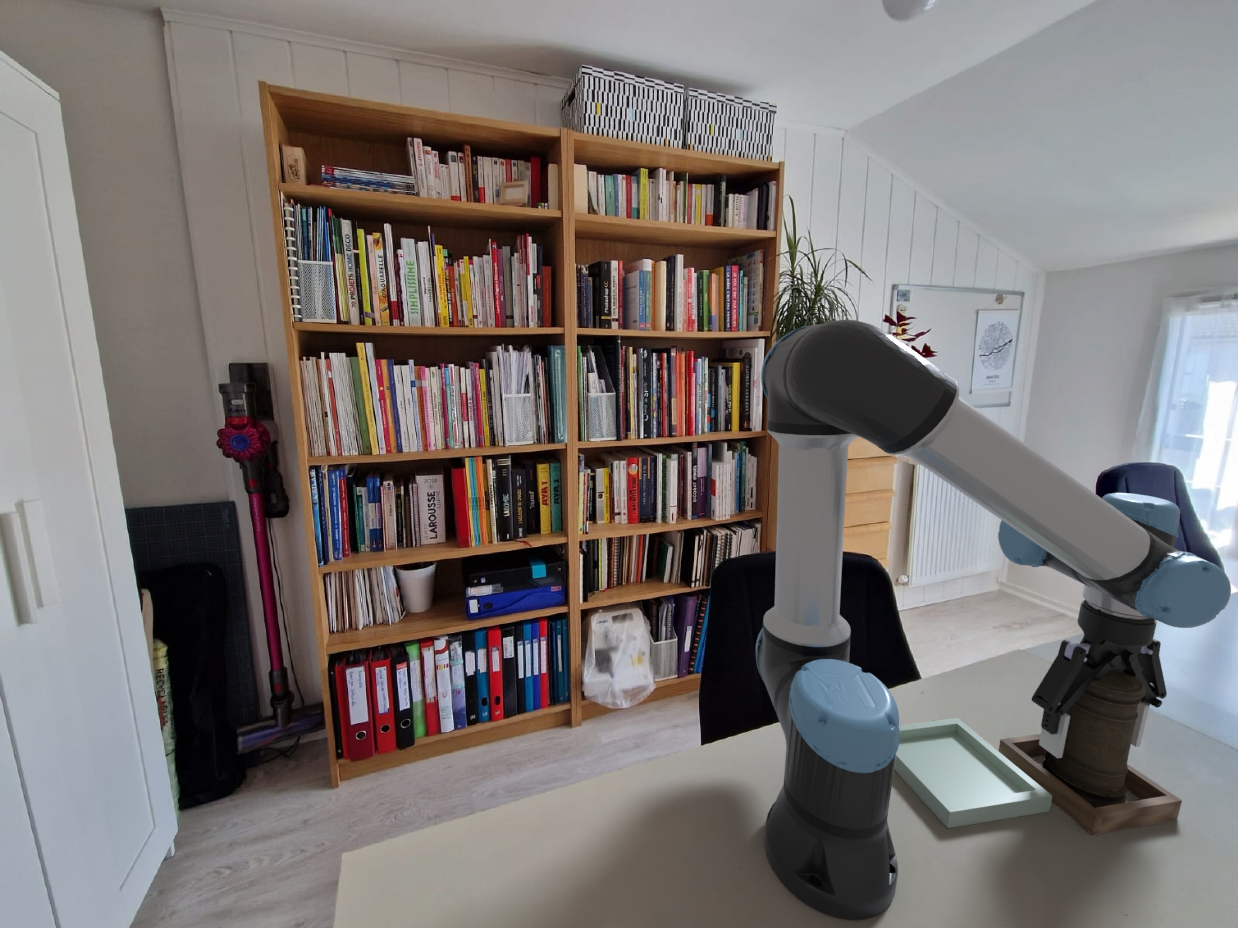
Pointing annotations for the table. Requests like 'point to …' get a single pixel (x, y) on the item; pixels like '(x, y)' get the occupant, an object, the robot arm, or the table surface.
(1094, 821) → the wooden picture frame
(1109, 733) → the container
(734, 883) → the table surface
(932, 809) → the tray
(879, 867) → the robot arm
